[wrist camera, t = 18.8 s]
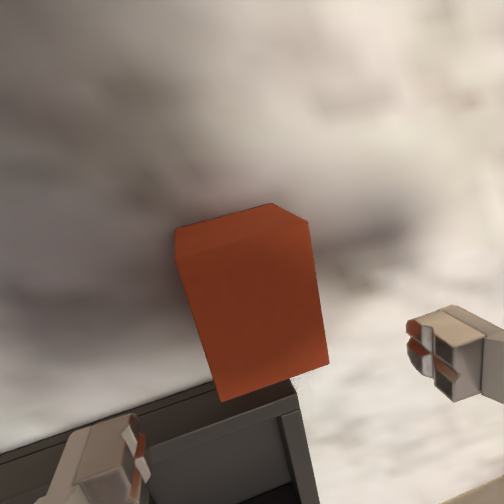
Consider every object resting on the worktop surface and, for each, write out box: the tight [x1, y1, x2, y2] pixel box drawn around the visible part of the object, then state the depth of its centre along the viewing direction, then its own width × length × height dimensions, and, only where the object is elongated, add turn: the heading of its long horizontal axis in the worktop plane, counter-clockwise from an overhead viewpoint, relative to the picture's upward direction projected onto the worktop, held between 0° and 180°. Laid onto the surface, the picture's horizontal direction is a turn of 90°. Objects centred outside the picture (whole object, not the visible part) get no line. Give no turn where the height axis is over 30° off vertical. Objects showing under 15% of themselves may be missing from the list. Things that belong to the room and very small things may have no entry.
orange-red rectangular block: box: [174, 203, 329, 402], centre depth 13 cm, size 6×4×4 cm
